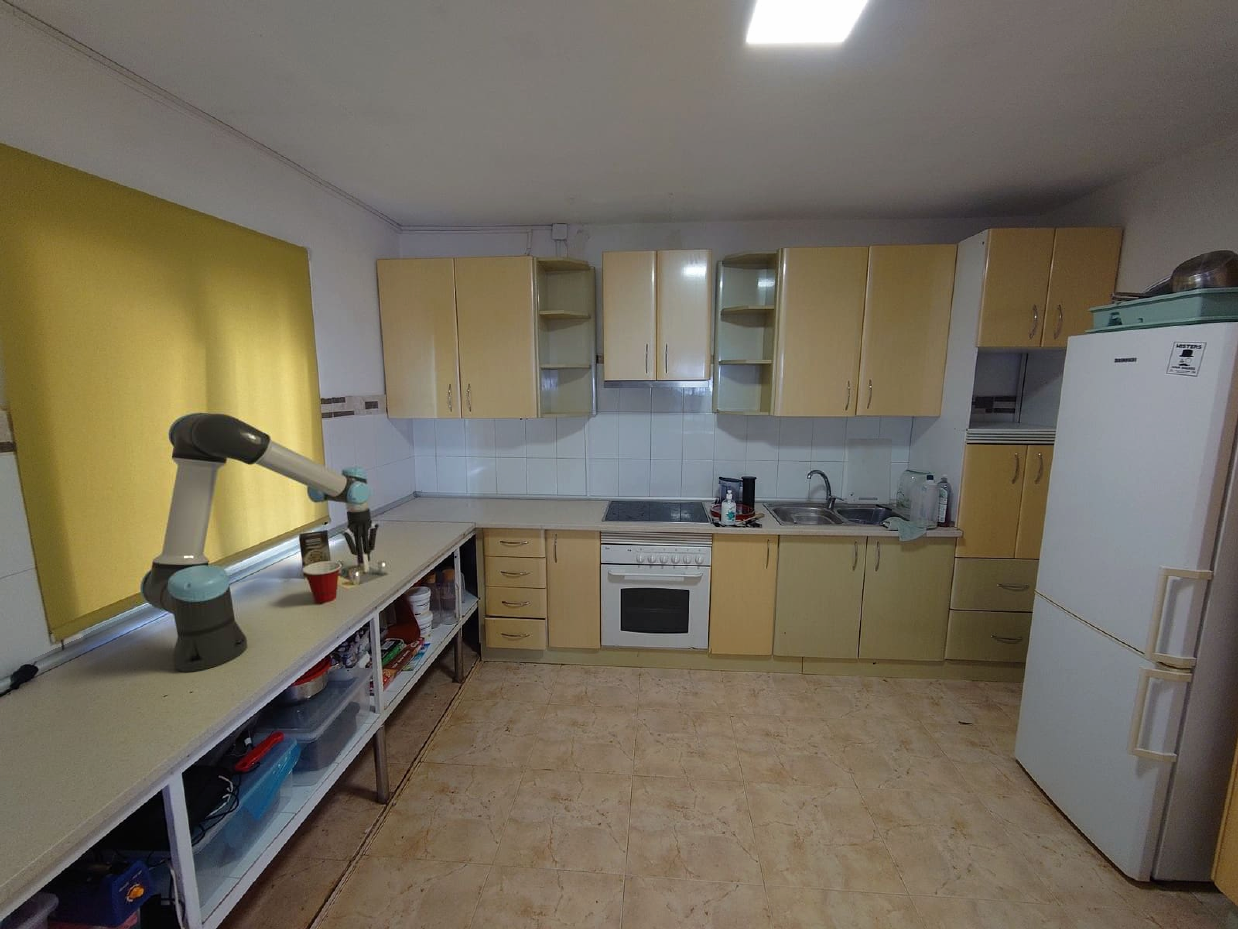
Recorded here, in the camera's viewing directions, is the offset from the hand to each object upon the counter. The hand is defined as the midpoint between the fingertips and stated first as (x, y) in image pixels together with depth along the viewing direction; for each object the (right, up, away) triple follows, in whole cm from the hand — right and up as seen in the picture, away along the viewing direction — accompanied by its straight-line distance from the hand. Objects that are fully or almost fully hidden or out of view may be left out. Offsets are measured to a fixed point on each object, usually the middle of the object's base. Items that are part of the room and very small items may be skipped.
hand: (365, 570), depth 183 cm
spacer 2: (+2, -3, -9) cm, 10 cm away
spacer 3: (-4, -1, +6) cm, 7 cm away
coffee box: (-18, -2, +1) cm, 18 cm away
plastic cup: (-2, -5, -21) cm, 22 cm away
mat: (-2, -2, -2) cm, 3 cm away
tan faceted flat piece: (-2, -2, -2) cm, 3 cm away
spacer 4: (+7, -1, -1) cm, 7 cm away
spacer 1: (-9, -2, 0) cm, 9 cm away
